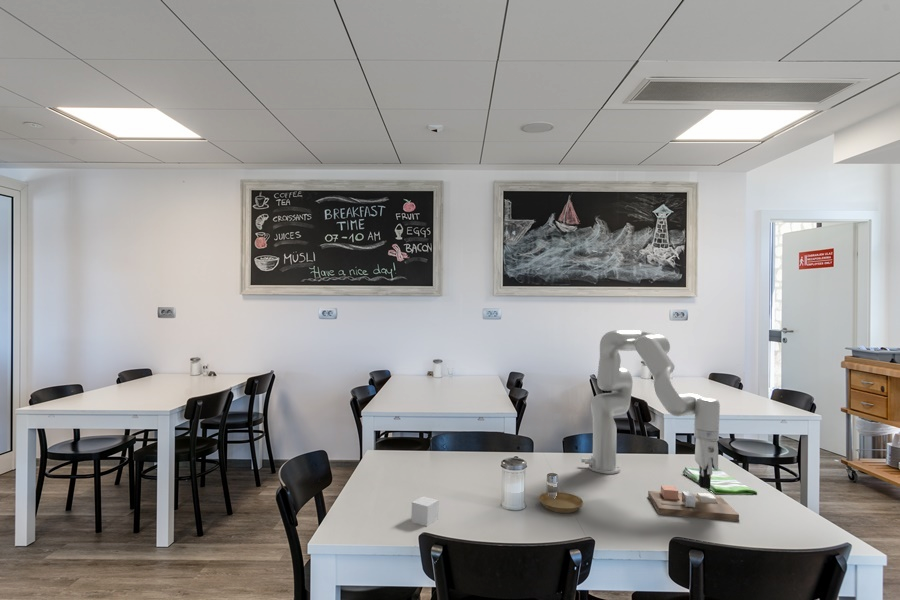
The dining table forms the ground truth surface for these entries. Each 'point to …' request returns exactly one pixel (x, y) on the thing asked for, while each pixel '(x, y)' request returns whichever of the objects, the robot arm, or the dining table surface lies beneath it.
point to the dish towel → (720, 482)
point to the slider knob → (688, 499)
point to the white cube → (425, 511)
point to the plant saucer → (561, 502)
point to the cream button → (706, 498)
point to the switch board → (700, 510)
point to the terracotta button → (669, 492)
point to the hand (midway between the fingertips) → (704, 487)
